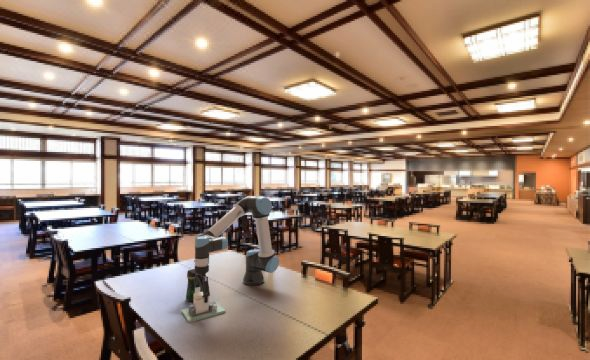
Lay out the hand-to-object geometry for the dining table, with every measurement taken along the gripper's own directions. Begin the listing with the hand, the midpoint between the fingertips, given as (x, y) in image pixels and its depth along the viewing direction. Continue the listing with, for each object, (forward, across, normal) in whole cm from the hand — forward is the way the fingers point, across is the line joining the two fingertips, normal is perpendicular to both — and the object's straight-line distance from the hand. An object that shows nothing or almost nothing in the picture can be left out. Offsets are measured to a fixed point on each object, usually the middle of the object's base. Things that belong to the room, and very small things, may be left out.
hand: (201, 303), depth 151 cm
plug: (+4, 0, 0) cm, 5 cm away
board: (+6, -1, +2) cm, 6 cm away
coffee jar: (+6, -21, +3) cm, 22 cm away
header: (+4, 0, 0) cm, 5 cm away
